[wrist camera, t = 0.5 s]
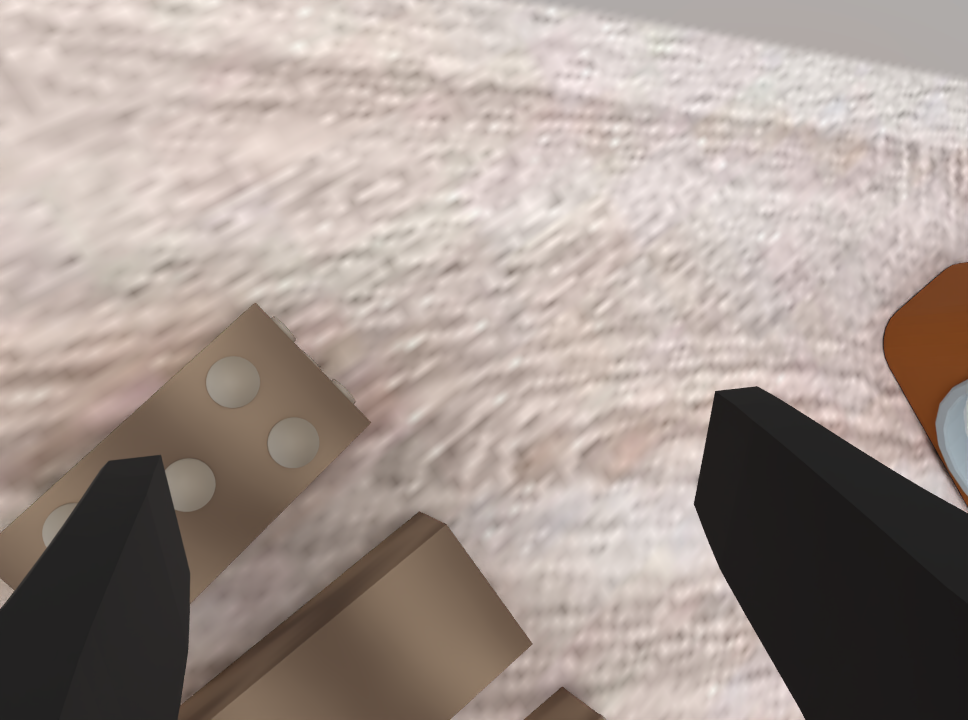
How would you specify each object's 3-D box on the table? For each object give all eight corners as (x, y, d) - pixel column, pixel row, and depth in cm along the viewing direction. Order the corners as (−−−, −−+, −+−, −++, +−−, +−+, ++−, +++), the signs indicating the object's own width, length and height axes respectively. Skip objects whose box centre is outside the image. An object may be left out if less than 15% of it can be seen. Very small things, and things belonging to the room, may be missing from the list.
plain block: (266, 822, 35) (279, 875, 31) (171, 709, 34) (173, 750, 30) (495, 618, 38) (532, 644, 35) (417, 510, 37) (446, 524, 34)
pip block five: (120, 645, 33) (115, 680, 29) (-4, 536, 32) (-27, 557, 28) (353, 414, 36) (377, 418, 33) (249, 307, 35) (261, 297, 31)
